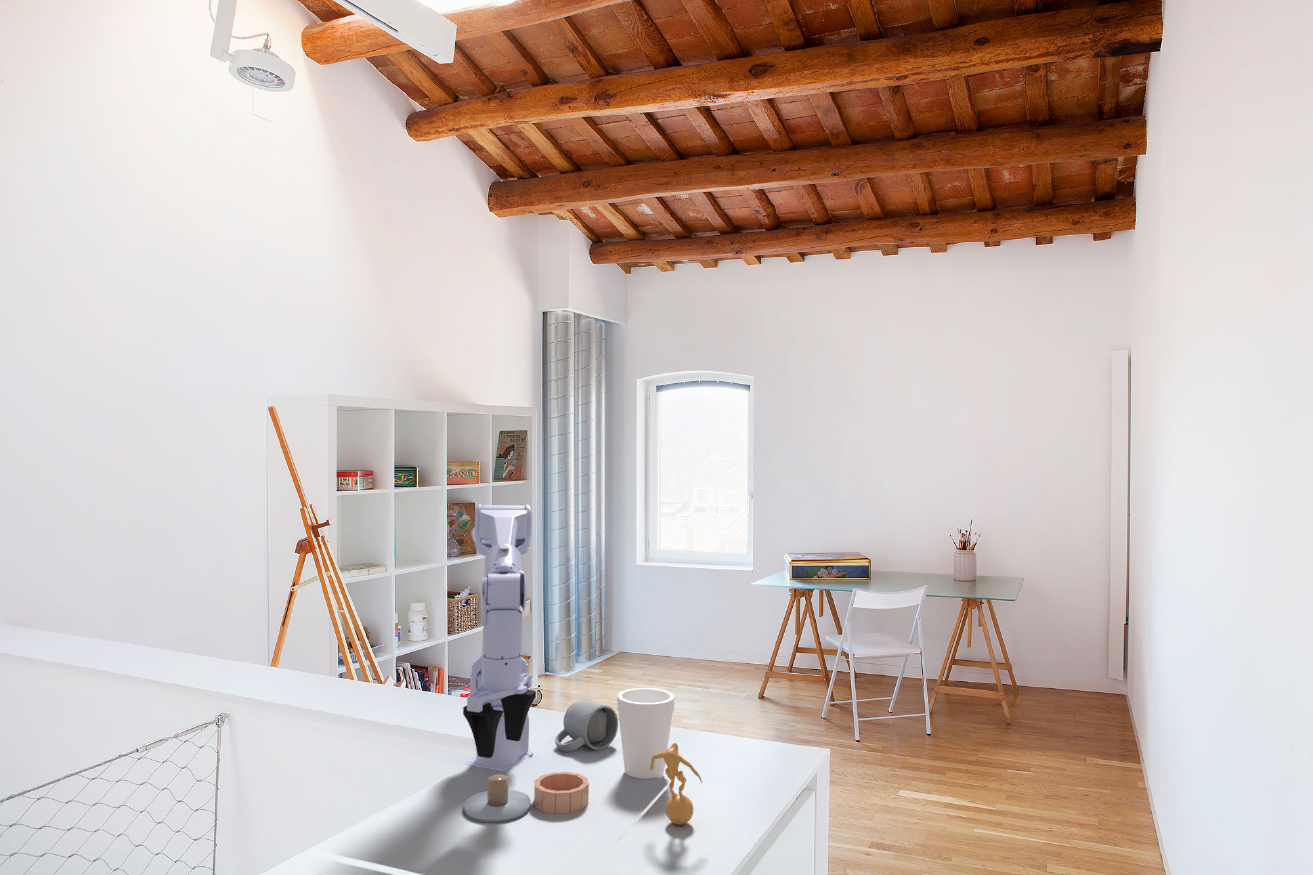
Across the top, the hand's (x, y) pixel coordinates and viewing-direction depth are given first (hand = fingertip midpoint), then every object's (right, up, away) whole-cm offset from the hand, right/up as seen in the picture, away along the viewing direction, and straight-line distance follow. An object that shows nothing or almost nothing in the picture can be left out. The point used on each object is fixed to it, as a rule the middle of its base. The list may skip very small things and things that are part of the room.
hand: (499, 747), depth 120 cm
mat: (0, -9, 0) cm, 9 cm away
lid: (0, -9, 0) cm, 9 cm away
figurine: (+26, -10, -4) cm, 28 cm away
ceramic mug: (+10, -11, +29) cm, 32 cm away
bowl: (+9, -10, +3) cm, 13 cm away
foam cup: (+21, -11, +15) cm, 28 cm away
